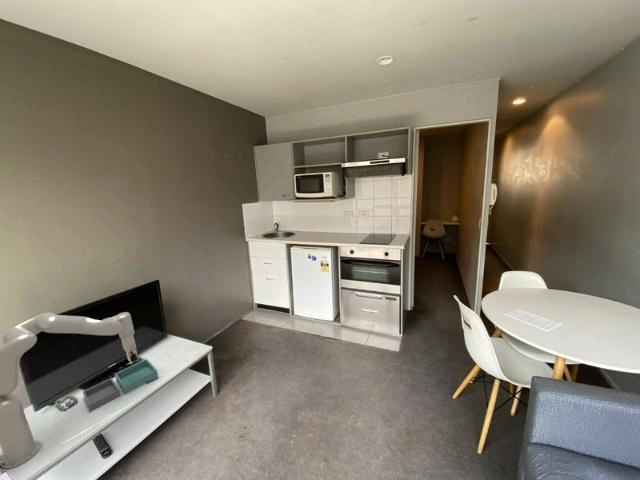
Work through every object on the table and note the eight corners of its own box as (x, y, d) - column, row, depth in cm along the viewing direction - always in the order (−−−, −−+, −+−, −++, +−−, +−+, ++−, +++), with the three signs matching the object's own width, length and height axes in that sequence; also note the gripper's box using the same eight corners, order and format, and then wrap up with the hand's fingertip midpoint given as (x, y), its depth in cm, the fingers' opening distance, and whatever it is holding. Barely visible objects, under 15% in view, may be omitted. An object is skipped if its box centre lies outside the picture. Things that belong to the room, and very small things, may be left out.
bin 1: (90, 413, 149) (88, 405, 148) (84, 398, 159) (82, 391, 158) (121, 396, 159) (119, 389, 158) (113, 384, 169) (111, 377, 168)
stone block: (130, 362, 166) (128, 353, 165) (127, 359, 169) (125, 351, 167) (138, 358, 169) (136, 350, 168) (136, 355, 172) (134, 347, 171)
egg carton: (55, 407, 154) (53, 401, 153) (71, 398, 161) (70, 392, 160) (63, 414, 149) (61, 408, 148) (80, 404, 156) (78, 398, 155)
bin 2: (125, 395, 160) (123, 386, 159) (116, 382, 171) (114, 373, 170) (158, 377, 173) (156, 369, 172) (148, 366, 185) (146, 358, 183)
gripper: (115, 331, 167) (121, 356, 172) (123, 340, 157) (130, 367, 161) (129, 325, 173) (135, 350, 177) (138, 334, 162) (144, 361, 166)
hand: (132, 358), depth 169 cm, fingers closed on stone block, 4 cm apart
